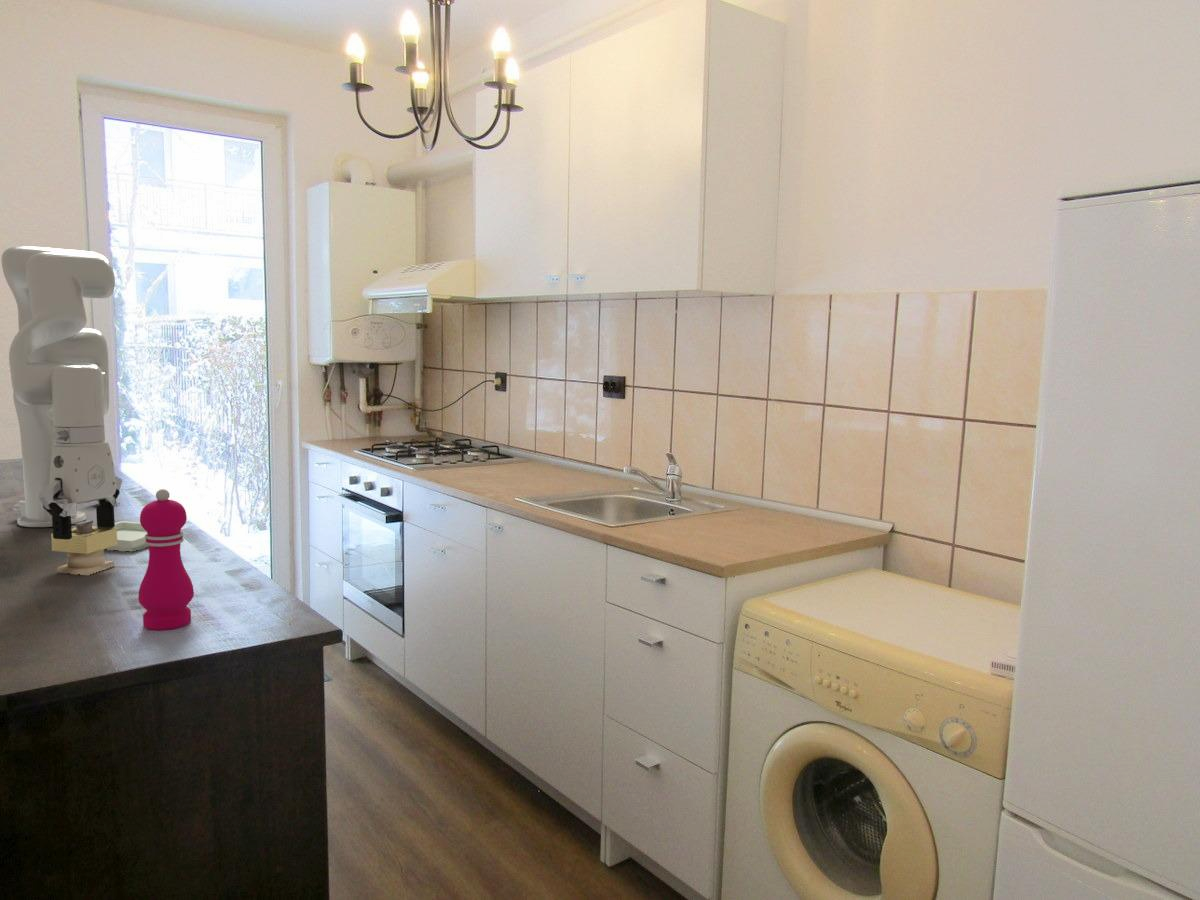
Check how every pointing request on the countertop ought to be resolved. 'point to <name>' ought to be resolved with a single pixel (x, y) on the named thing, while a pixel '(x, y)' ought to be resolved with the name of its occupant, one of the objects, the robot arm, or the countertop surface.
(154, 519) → the pepper mill
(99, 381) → the robot arm
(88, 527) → the beige post on base
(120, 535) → the tray
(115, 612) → the countertop surface
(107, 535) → the ring
